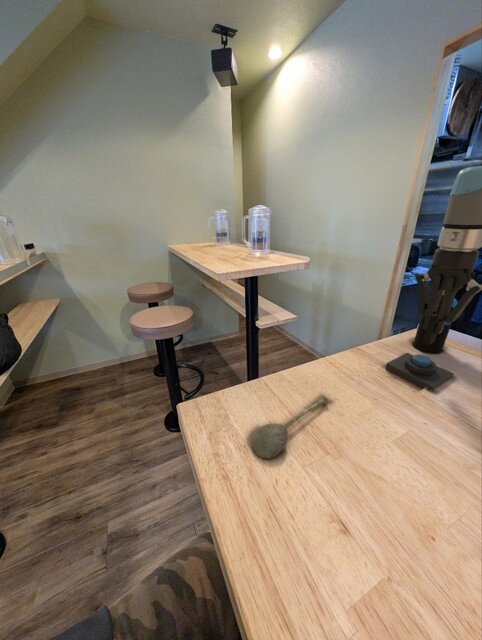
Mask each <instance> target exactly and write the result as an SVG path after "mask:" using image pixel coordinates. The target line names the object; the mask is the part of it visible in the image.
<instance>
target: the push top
mask: <svg viewBox="0 0 482 640" xmlns="http://www.w3.org/2000/svg"><path fill="white" fill-rule="evenodd" d="M413 355H414V356H413V359H412V363H413V364H415V365H417V366H419V367H424V368H428V367H429V366H430V363H431V360H432V359H431V358H430V357H429V356H427V355H424V354H421V353H420V354H419V353H417V354H413Z"/></svg>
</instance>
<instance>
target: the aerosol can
mask: <svg viewBox="0 0 482 640" xmlns="http://www.w3.org/2000/svg"><path fill="white" fill-rule="evenodd" d="M444 291H445V290H444ZM444 291H443V293H442V296H441V299H440V303H439V306H438V309H437V312H436V314H437V315H436V316H434V317H436V318H437V317H438V314H439V311H440V307H441V304H442V301H443V298H444ZM430 298H431V295H429V301H430ZM458 302H459V301H458V300H457V299H456V298H454V301H453V304H452V307H451V310H450V313H451V312H452V310H453V309H454V307H455V306H456V304H457V303H458ZM450 313H449V314H450ZM420 315H421V316H420V319H419V324H418V326H417V329H416V333H415V336H414V340H413V341H412V342H411V345H412V347H413V348H415V349H416V350H417V351H420V352H423V353H425V354H430V355H438V354H442V353H443V352H444V346H445V344H446V341H447V338H448V335H449V332H450V329H451V327H452V324H453V322H450V323H448V322H445V325H444V328H443V331H442V332H441V333H439V334H437V335H436V338H435V342H433V343H432V344H430V345H427V344H425V343H422V342H423V339H424V335H425V332H426V330H425V329H423V325H424V321H425V316H424V315H423V314H420Z"/></svg>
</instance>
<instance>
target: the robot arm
mask: <svg viewBox="0 0 482 640" xmlns="http://www.w3.org/2000/svg"><path fill="white" fill-rule="evenodd" d="M481 248H482V165H478V166H477V165H476V166H470V167H469V166H468V167H465V168H463V169H461V170H460V171H459V172H458V173H457V174H456V178H455V180H454V182H453V186H452V189H451V191H450V194H449V199H448V203H447V208H446V211H445V215H444V218H443V222H442V226H441V230H440V233H439V236H438V241H437V248H436V249H435V251H434V254H433V258H432V260H431V261H432V262H431V266H430V268H429V269H428V270H427V272H425V273H420V274H417V275H415V277H414V278H415V280H416V283H417V312H418V314H419V315H422V314H423V315H424V316H425V321H424V325H423V329H425V330H426V332H425V335H424V339H423V342H422V343H425V344H427V345H430V344H432V343H433V342H435V338H436V335H437V334H439V333H441V332H442V331H443V328H444V325H445V322H448V323H450V322H452V323H453V322H455V321H456V320H458V319H459V317H460V316H461V314H462V313H463V311H464V310H465V309H466V307H467V306H468V305H469V304H470V302H471V301H472V300H473V298H474V296H476V294H477V293H479V292H481V291H482V283H478V282H477V281H476V280H475V279H474V278H475V274H474V270H475V266H476V265H477V261H478V259H479V256H480V251H479V250H478V249H481ZM429 281H430V282H429ZM430 283H431V284H432V288H431V294H430V285H429V284H430ZM465 286H466V287H465ZM463 287H465V292H464V293H463V294H462V296H461V297H460V299H459V300H458V301H457V302H458V303H457V304H456V306H455V307H454V309H453V310H452V312H451V313H450V310H451V307H452V304H453V301H454V298H455V297H456V294H458V291H459V290H460V289H461V288H463ZM444 290H445V291H444ZM443 291H444V298H443V301H442V304H441V307H440V311H439V314H438V317H437V318H436V317H434V316H436V315H437V314H436V312H437V309H438V306H439V303H440V299H441V296H442V293H443ZM430 296H431V298H430V301H429V297H430ZM455 299H456V298H455ZM449 313H450V314H449Z"/></svg>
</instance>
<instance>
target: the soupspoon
mask: <svg viewBox="0 0 482 640" xmlns="http://www.w3.org/2000/svg"><path fill="white" fill-rule="evenodd" d="M329 402H330V401H329V398H328V397H326V396H323V397H322V398H321V400H319V401H316V402H315V403H313V404H312V405H310V406H309V407H307V408H306V409H304V410H303V411H301V412H300V413H298V414H297V415H295V416H294V417H292V418H291V419H289V420H288V421H287V422H286V423H284V424H283V425H281V424H279V423H266V424H264V425H262V426H260V427H259V428H258V429H257V430H256V431H255V433H254V434H253V437H252V441H251V445H252V449H253V451H254V453H255V454H256V455H257V456H258V457H259V458H262V459H265V460H270V459H273V458H274V457H276V456H277V455H279V454H280V453H281V452H282V451H283V449H284V448H285V447H286V444H287V442H288V437H289V434H288V430H287V429H288V428H289V427H291V425H293V424H294V423H295V422H296V421H297V420H299V419H300V418H302V417H303V416H305V415H306V414H308V412H310V411H311V410H313V409H315V408H316V407H319V406H321V405H328V404H329Z"/></svg>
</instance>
